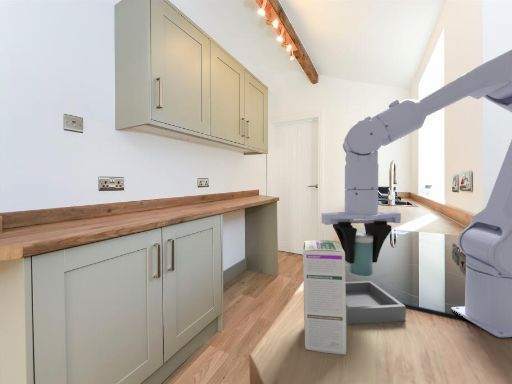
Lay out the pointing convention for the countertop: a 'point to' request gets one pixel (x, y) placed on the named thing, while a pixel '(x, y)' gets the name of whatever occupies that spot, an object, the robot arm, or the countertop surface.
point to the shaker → (362, 255)
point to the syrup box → (324, 296)
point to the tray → (371, 304)
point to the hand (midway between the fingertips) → (360, 261)
